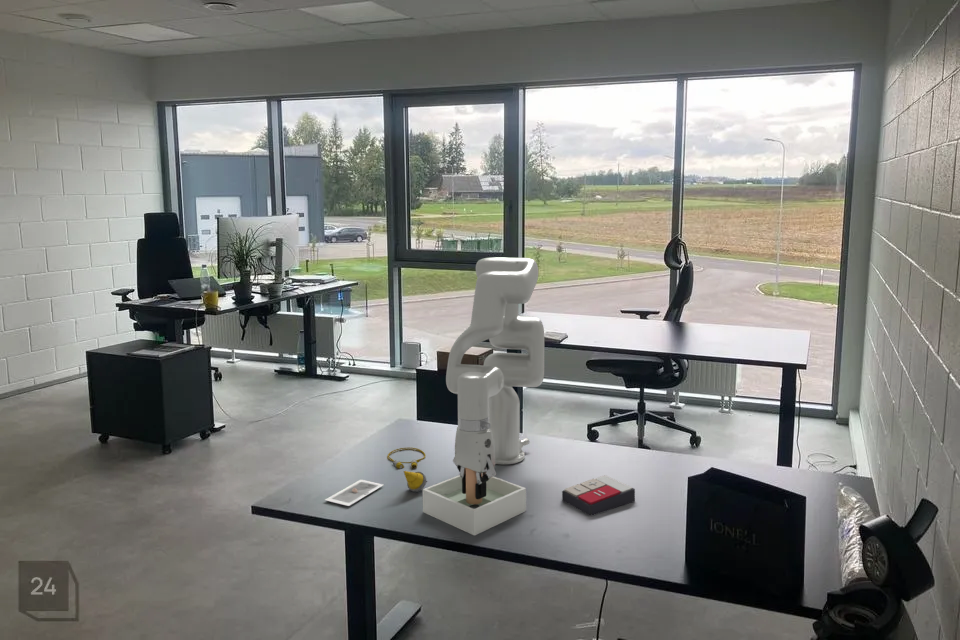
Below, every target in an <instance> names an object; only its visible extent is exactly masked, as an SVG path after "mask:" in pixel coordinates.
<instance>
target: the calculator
mask: <svg viewBox="0 0 960 640" xmlns="http://www.w3.org/2000/svg"><path fill="white" fill-rule="evenodd" d="M635 495H636V489H635V488H634V487H632V486H630V485H628V484H627V483H626V484H625V483H624V482H622V481H619V480H618V479H615V478H613V477H610V476H608V475H607V474H604V475H602V476H598V477H596V478H592V479H588V480H586V481H583V482H580V484H574V485H572V486H569V487H565V488H564V490H562V491H561V496H562V497H561V498H562V499H561V500H562V502H564V503H565V504H568V505H569V506H571V507H573V508H575V509H577V510H579V511H580V512H582V513H584V514H586V515H587V516H590V517H592V516H596V515H598V514H601V513H604V512H607V511H611V510H612V509H616V508H618V507H620V506H625V505H628V504H633V503H634V502H636V496H635Z"/></svg>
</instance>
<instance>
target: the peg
mask: <svg viewBox="0 0 960 640" xmlns="http://www.w3.org/2000/svg"><path fill="white" fill-rule="evenodd" d="M481 477H482V473H481ZM476 483H477V477H476V471H473V470H471V469H468V468H466V502H467V503H468V504H473V505H476V504H480V503H481V502H482V498H481V499H476V498H475V484H476Z"/></svg>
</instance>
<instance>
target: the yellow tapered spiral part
mask: <svg viewBox="0 0 960 640" xmlns="http://www.w3.org/2000/svg"><path fill="white" fill-rule="evenodd" d="M403 474H404V477H405V479H406V483H407V485H406V487H407V488H408V490H410V491H411V492H413V493H417V492H420V491H423V489H425V486H426V484H427V483H428V480H427V476H426V475H425V474H424V473H423V472H421V471H406V470H405V471H403Z"/></svg>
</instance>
